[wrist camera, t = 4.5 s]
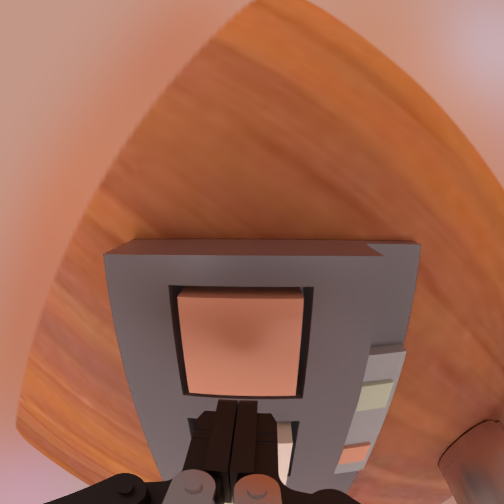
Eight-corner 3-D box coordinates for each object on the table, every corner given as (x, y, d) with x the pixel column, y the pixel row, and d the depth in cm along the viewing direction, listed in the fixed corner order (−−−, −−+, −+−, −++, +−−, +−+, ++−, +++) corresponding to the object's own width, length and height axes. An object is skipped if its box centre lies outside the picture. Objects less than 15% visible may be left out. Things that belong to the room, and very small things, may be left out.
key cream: (289, 415, 17) (292, 443, 14) (283, 464, 18) (285, 488, 16) (198, 413, 17) (191, 439, 15) (207, 461, 18) (202, 485, 16)
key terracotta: (297, 281, 16) (304, 298, 14) (291, 370, 17) (295, 395, 15) (188, 280, 16) (177, 296, 14) (196, 368, 17) (189, 392, 15)
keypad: (413, 241, 17) (446, 256, 13) (345, 487, 23) (351, 513, 20) (133, 239, 17) (103, 254, 14) (185, 488, 24) (179, 514, 20)
